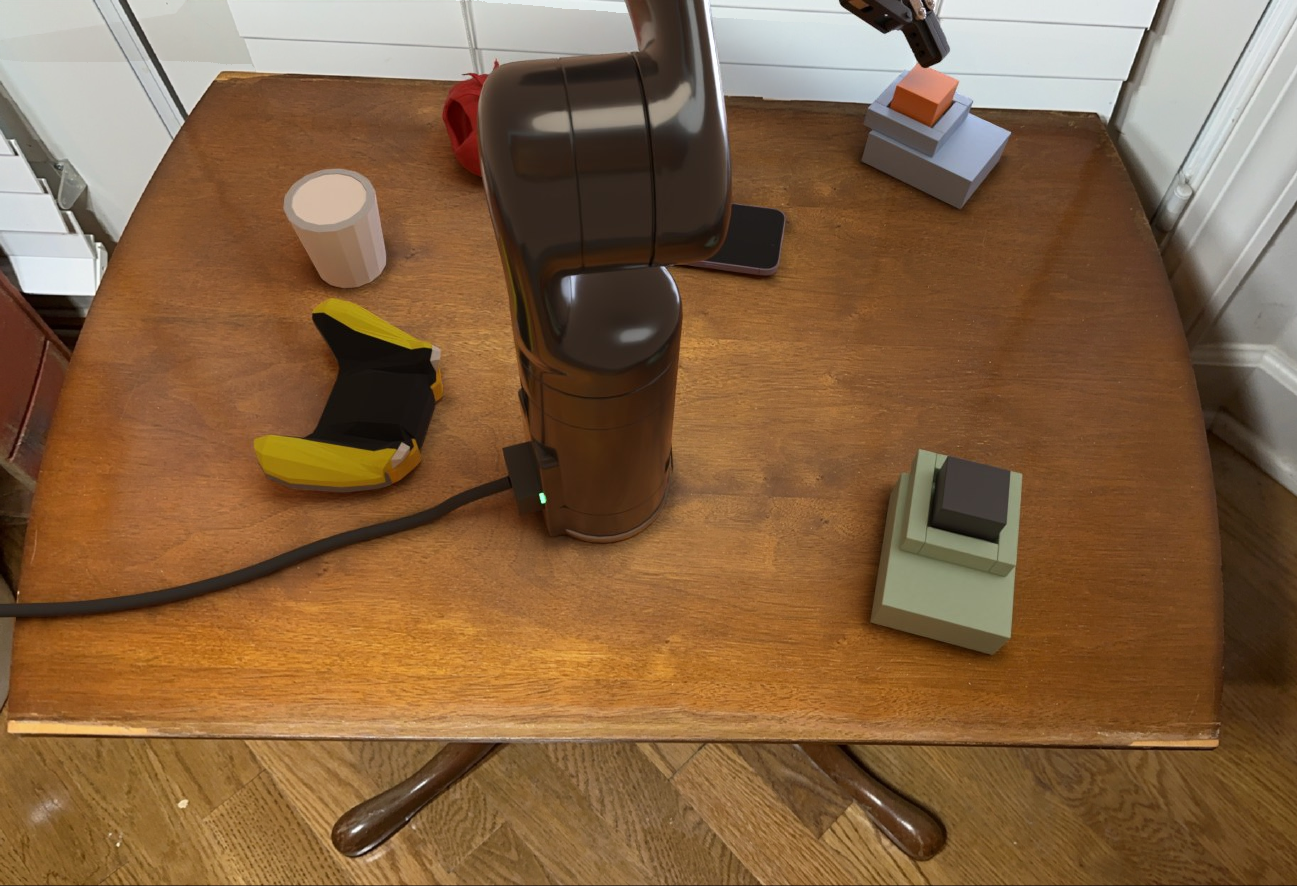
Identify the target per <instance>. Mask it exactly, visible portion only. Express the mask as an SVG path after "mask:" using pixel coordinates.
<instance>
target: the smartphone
mask: <svg viewBox="0 0 1297 886" xmlns="http://www.w3.org/2000/svg"><path fill="white" fill-rule="evenodd" d="M785 226H786V215H785V213H784V212H783V211H782V210H780V209H777V208H772V207H765V206H757V205H749V204H742V203H733V202H732V206H731V217H730V223H729V227H728V230H727V234H726V238H725V240H724V242H723V245H722V246H721V248H720V249H719V251H718V252H717V253H716V254H715V255H713V256H712V257H711V258H709V259H706V260H703V261H699V262H695V263H688V264H681V265H683V266H691V267H699V268H706V269H712V270H713V269H714V270H720V271H726V272H734V273H735V272H736V273H742V274H750V275H756V276H764V277H765V276H771V275H774V274H775V273H776V272H777V271H778V269H779V266H780V260H781V253H782V246H783V240H784V239H783V238H784V233H785Z"/></svg>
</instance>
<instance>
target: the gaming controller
mask: <svg viewBox="0 0 1297 886" xmlns="http://www.w3.org/2000/svg"><path fill="white" fill-rule="evenodd" d="M311 321H312V322H313V323H312V324H313V325H314V327H315V328H316V330H317V331H318V333H319V334H320V336H321V338H322V339H323V341H324V342H325V344H326V346H327V348H328V349H329V350H330V352H331V354H332V356H333V357H334V359H335V361H336V363H337V365H338V371H337V377H336V380H335V383H334V385H333V387H332V389H331V392H330V394H329V396H328V398H327V402H326V404H325V406H324V409H323V411H322V414H321V415H320V418H319V421H318V423H317V425H316V427H315V428H314V430H313V431H312V432H311V433H309V434H308V435H306V436H304V437H301V436H290V435H280V434H266V435H263V436H259V437H256V438H254V439H253V448H254V452H255V455H256V458H257V462H258V466H259V468H260V469H261V470H262V472H263V474H264V475H265V477H266V478H267V479H269V480H271V481H273V482H276V483H278V484H279V485H283V486H285V487H288V488H290V489H293V490H303V491H317V492H332V493H352V492H361V491H370V490H379V489H383V488H386V487H389V486H390V485H393V484H396V483H397V482H399V481H401V480H402V479H403V478H404V477H406V476H407V475H408V474H409V473H410V472H412V470H414V469H415V468H416V467H418V465H419V463H421V462H422V461H423V457H422V455H421V448H422V445H423V442H424V439H425V436H426V434H427V430H428V428H429V425H430V421H431V418H432V416H433V412H434V410H435V406H436V403H437V401H439V400H440V399H441V398H442V397H444V384H443V379H442V373H441V367H440V362H441V356H442V355H441V354H442V350H441V348H440V347H438V346H435V345H433V344H432V343H431V342H430V341H424V340H419V339H418V338H416V337H414V336H413V335H411V334H409V333H407V332H405V331H403V330H401V329H400V328H398V327H397V326H394V325H393V324H391V323H389V322H387V321H385V320H384V319H383V318H381V317H379V316H377V315H376V314H374V313H372V312H371V311H369V310H367V309H366V308H364V307H363V306H361V305H359V304H357V303H354V302H351V301H347V300H342V299H339V298H333V297H330V298H328V299H326V300H324V301H322V302H321V303H319V304H317V305H316V306H315V307H314V308H313V310H312V312H311Z"/></svg>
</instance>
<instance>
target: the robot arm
mask: <svg viewBox="0 0 1297 886" xmlns="http://www.w3.org/2000/svg"><path fill="white" fill-rule="evenodd" d="M623 1H624V3H625V6H626V10H627V13H628V15H629V19H630V22H631V26H632V28H633V31H634V36H635V38H636V45H637V49H638V51H631V52H630V53H629V52H627V51H626V52H613V53H601V54H599V53H598V54H588V55H577V56H575V55H574V56H563V57H561V56H560V57H559V58H558V57H551V58H538V59H525V60H518V61H509V62H505V63H501V64H499V66H498V67H496V68H495V69H494V70H493V69H492V70H491V71H490V73H488V74H489V76H488V77H487V79H486V81H485V82H484V84H483V88H482V91H481V94H480V97H479V102H478V110H477V144H478V153H479V162H480V169H481V175H482V177H481V179H482V184H483V190H484V195H485V199H486V200H485V201H486V205H487V208H488V213H489V217H490V220H491V221H490V222H491V224H492V225H491V226H492V228H493V233H494V236H495V242H496V245H497V250H498V252H499V256H500V261H501V266H502V270H503V275H504V280H505V284H506V285H505V286H506V291H507V297H508V304H509V305H508V306H509V314H510V322H511V328H512V329H511V330H512V337H513V344H514V350H515V356H516V357H515V358H516V362H517V369H518V376H519V381H520V388H519V389H518V390H517V397H518V403H519V409H520V415H521V416H520V417H521V421H522V428H523V434H524V442H519V443H516V444H512V445H508V446H504V447H502V455H503V459H504V464H505V465H504V466H505V469H506V472H507V475H506V476H504V477H501V478H498V479H494V480H492V481H489V482H486V483H482V484H479V485H477V486H474V487H472V488H469V489H465V490H464V491H461V492H459V493H457V494H454V495H452V496H450V497H449V498H447V499H446V500H444V501H442V502H441V503H439V504H437V505H434V506H433V507H430V508H427V509H425V510H422V511H419V512H416V513H413V514H410V515H406V516H403V517H399V518H395V519H392V520H388V521H384V522H380V523H379V522H378V523H375V524H371V525H367V526H363V527H359V528H355V529H352V530H351V529H350V530H347V531H343V532H340V533H337V534H334V535H330V536H327V537H323V538H321V539H319V540H316V541H313V542H309V543H307V544H304V545H302V546H299V547H296V548H294V549H292V550H288V551H286V552H284V553H281V554H278V555H276V556H273V557H270V558H268V559H266V560H263V561H260V562H258V563H255V564H253V565H249V566H246V567H243V568H240V569H237V570H234V571H230V572H227V573H223V574H220V575H217V576H212V577H209V578H206V579H202V580H198V581H194V582H190V583H186V584H182V585H178V586H177V585H176V586H173V587H169V588H164V589H163V588H162V589H158V590H153V591H146V592H142V593H141V592H140V593H134V594H128V595H121V596H114V597H106V598H96V599H88V600H86V599H85V600H75V601H72V600H71V601H57V602H22V603H21V602H19V603H18V602H17V603H15V602H13V603H0V618H1V619H2V618H38V617H64V616H65V617H66V616H80V615H91V614H101V613H110V612H117V611H124V610H131V609H138V608H143V607H145V608H146V607H150V606H155V605H161V604H166V603H170V602H176V601H179V600H184V599H188V598H192V597H193V598H194V597H197V596H201V595H204V594H208V593H212V592H216V591H220V590H223V589H228V588H230V587H233V586H237V585H239V584H240V585H241V584H242V583H243V584H244V583H246V582H249V581H252V580H255V579H258V578H260V577H263V576H266V575H268V574H271V573H274V572H276V571H279V570H281V569H284V568H286V567H289V566H292V565H293V564H296V563H298V562H299V563H300V562H301V561H304V560H307V559H310V558H312V557H314V556H318V555H321V554H323V553H326V552H329V551H332V550H335V549H338V548H342V547H345V546H348V545H352V544H357V543H359V542H363V541H367V540H371V539H376V538H380V537H384V536H389V535H391V534H396V533H399V532H403V531H407V530H411V529H413V528H417V527H419V526H423V525H426V524H429V523H431V522H434V521H436V520H437V521H438V520H439V519H442V518H443V517H445V516H447V515H449V514H451V513H452V512H453V511H455V510H457V509H459V508H461V507H464V506H466V505H468V504H471V503H473V502H476V501H479V500H481V499H485V498H487V497H490V496H493V495H496V494H500V493H503V492H505V491H508V490H512V495H513V498H514V502H515V505H516V509H517V512H518V516H524V515H527V514H528V515H529V514H532V513H535V512H541V511H542V514H543V518H544V521H545V526H546V528H547V532H548V535H549V536H550V537H558V536H561V535H568V536H570V537H572V538H574V539H577V540H580V541H584V542H590V543H597V544H598V543H601V544H603V543H604V544H605V543H615V542H620V541H623V540H626V539H630V538H631V537H633V536H636V535H637V534H639V533H641V532H642V531H645V530H646V529H647V528H648V527H649V526H651V524H652V523H654V522H655V520H656V519H657V518H658V517H659V515H660V514H661V512H662V511H663V509H664V507H665V505H666V502H667V499H668V497H669V496H668V495H669V490H670V469H671V474H673V471H674V458H673V444H672V441H673V429H674V420H675V419H674V417H675V408H676V407H675V404H676V395H677V394H676V393H677V383H678V374H679V373H678V371H679V364H680V363H679V362H680V351H681V341H682V340H681V339H682V330H683V320H684V315H683V314H684V313H683V309H684V308H683V301H682V300H683V299H682V296H681V292H680V289H679V286H678V284H677V282H676V279H675V278H674V277H673V274H672V273H671V272H670V270H669V269H668V268H667V267H670V266H672V267H673V266H679V265H682V264H688V263H695V262H699V261H703V260H706V259H709V258H711V257H712V256H713V255H715V254H716V253H717V252H718V251H719V249H720V248H721V246H722V245H723V242H724V240H725V238H726V234H727V230H728V227H729V223H730V217H731V206H732V203H733V167H732V165H733V163H732V153H731V140H730V132H729V125H728V116H727V109H726V108H727V107H726V102H725V101H726V100H725V93H724V85H723V79H722V72H721V65H720V58H719V53H718V47H717V40H716V33H715V27H714V26H715V25H714V20H713V13H712V6H711V0H623ZM838 4H839V5H840V7H841V8H843V9H844V10H846V11H848V12H849V13H851V14H852V15H854V16H855V17H857V18H859V19H860V20H861V21H863V22H865V23H866V24H867V25H869V26H870V27H872V28H873V29H875V30H877V31H878V32H879V33H881V34H883V35H886V34H888V33H890V32H892V31H897V32H899V31H900V32H901V33H902V34H903V35H904V38H905V40H906V41H907V44H908V46H909V48H910V49H911V52H912V54H913V56H914V58H915V60H916V61H917V63H919V64H920V66H921V67H923V68H928V67H929V68H931V67H933V66H936V65H937V64H939V63H941V62H943V60H944V59H945V58H946V57H947V56H948V55H949V54H950V53H951V46H950V45H949V42H948V40H947V36H946V34H945V31H944V30H943V28H942V26H941V24H940V21H939V20H938V17H937V14H936V12H935V8H936V0H838Z"/></svg>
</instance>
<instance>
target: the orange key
mask: <svg viewBox="0 0 1297 886" xmlns="http://www.w3.org/2000/svg"><path fill="white" fill-rule="evenodd" d="M909 71H910V72H909V73H908V74H907V75H906V76H905V77H904V78H903V79H902V80H901V81H900V82H899V83H898V84H897V86H896V89H895V92H894V96H893V99H892V102H891V106H890V109H892V110H894V111H896V112H898V113H900V114H902V115H905V116H907V117H909V118H911V119H913V120H915V121H918V122H920V123H922V124H924V125H926V126H928V127H932V126H933V125H934V123H935V122H936V121H937V120H938V119H939V118H940V117H941V115H942V114H943V113H944V112H945V111H946V110H947V109H948V107H949V106H950V105H951V102H952V100H953V97H954V94H955V92H957V88H958V87H959V83H960V80H959V79H957V78H954V77H952V76H950V75H947V74H945V73H943V72H941V71H938V70H937V69H934V68H932V67H928V68H923V67H921V66H920V64H919V63H918V62H917V63H916V64H914V66H913V67H912V68H911V70H909Z"/></svg>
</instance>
